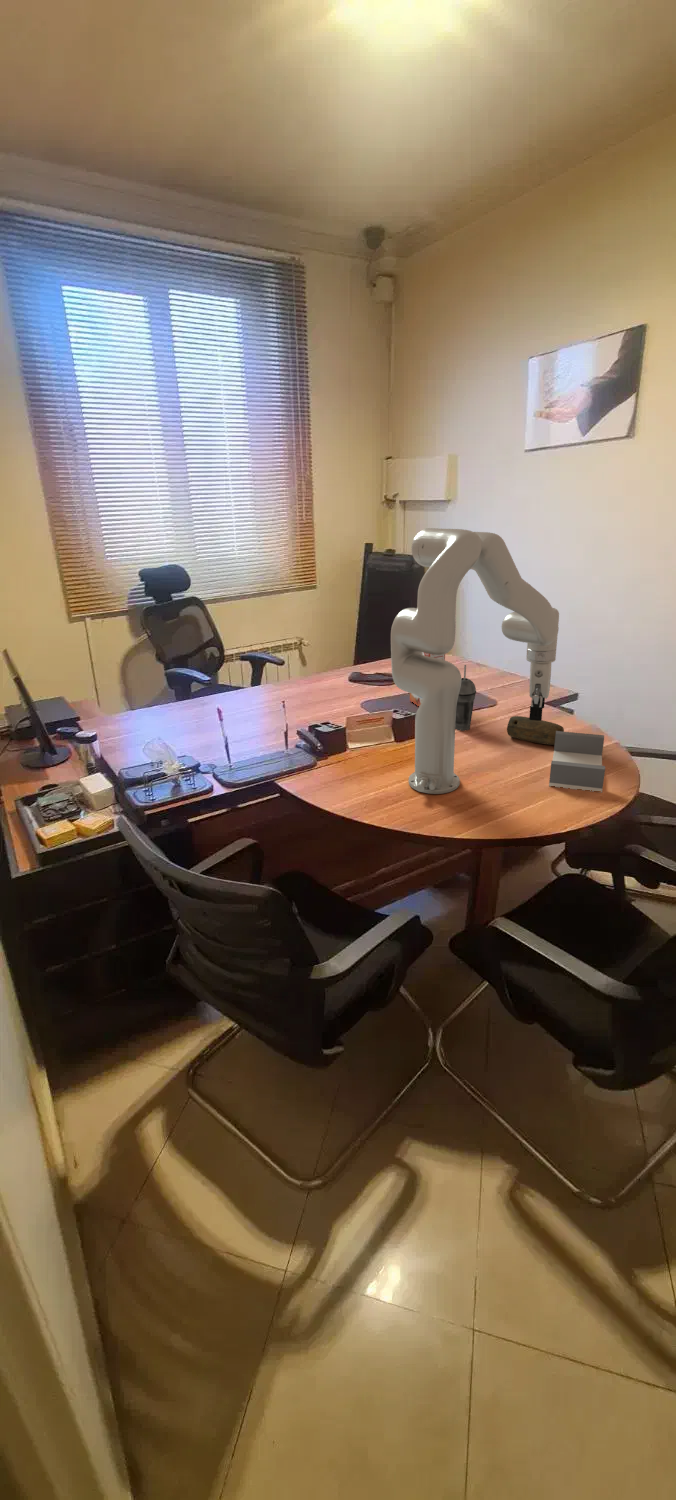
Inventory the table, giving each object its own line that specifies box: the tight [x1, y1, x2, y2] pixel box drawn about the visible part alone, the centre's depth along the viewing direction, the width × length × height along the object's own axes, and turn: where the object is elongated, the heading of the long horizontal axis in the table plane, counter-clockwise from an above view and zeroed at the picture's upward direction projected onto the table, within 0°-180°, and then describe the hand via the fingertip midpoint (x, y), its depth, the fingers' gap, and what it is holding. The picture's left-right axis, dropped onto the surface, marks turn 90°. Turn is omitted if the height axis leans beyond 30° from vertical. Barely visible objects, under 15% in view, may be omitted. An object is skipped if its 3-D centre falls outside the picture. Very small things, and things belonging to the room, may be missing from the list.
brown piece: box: [506, 715, 565, 746], centre depth 177 cm, size 15×7×7 cm, turn 60°
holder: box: [548, 731, 606, 793], centre depth 159 cm, size 22×12×6 cm, turn 159°
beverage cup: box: [455, 664, 477, 732], centre depth 186 cm, size 7×7×20 cm
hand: (536, 713), depth 175 cm, fingers open, 9 cm apart
